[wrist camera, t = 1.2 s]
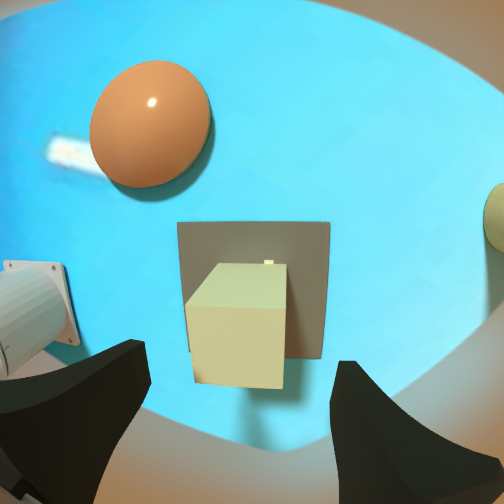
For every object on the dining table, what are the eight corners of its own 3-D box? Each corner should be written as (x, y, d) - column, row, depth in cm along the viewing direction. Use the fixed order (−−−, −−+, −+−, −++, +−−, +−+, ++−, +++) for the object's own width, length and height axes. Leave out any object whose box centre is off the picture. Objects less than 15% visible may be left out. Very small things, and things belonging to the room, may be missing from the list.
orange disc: (98, 191, 20) (90, 192, 19) (100, 79, 18) (93, 76, 17) (212, 183, 19) (208, 183, 18) (211, 56, 17) (208, 50, 16)
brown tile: (190, 350, 22) (189, 352, 22) (177, 222, 20) (176, 222, 20) (320, 356, 21) (320, 358, 21) (329, 221, 19) (330, 222, 19)
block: (221, 323, 21) (194, 382, 14) (218, 262, 20) (184, 304, 13) (285, 325, 21) (282, 388, 14) (286, 264, 20) (285, 308, 13)
